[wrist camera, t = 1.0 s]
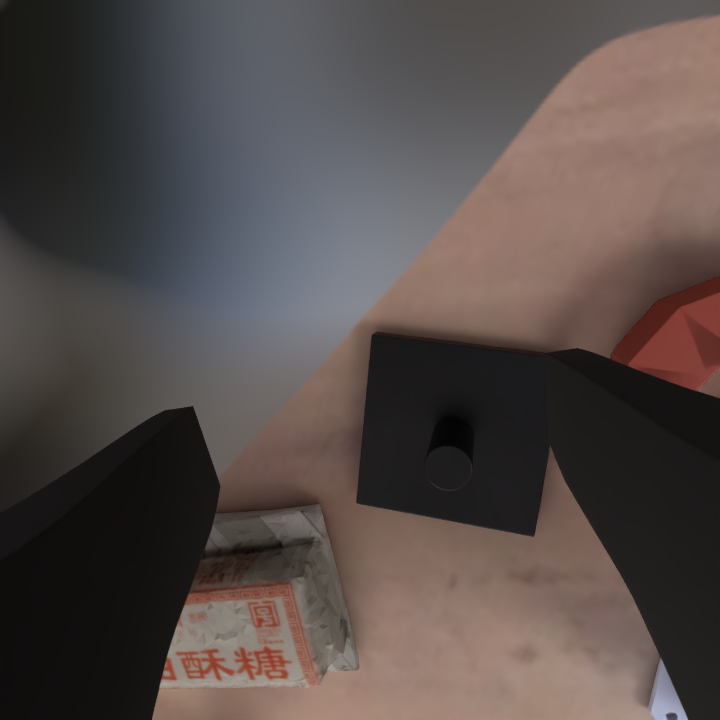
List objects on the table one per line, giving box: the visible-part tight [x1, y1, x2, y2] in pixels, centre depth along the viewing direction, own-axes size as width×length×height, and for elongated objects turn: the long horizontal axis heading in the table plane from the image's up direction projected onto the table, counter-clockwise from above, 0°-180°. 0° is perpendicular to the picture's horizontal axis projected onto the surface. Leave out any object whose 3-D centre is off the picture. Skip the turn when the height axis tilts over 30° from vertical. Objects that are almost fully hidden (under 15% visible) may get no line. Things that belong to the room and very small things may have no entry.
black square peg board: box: [356, 332, 550, 537], centre depth 25 cm, size 9×9×5 cm
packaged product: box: [159, 504, 359, 689], centre depth 30 cm, size 18×5×10 cm
